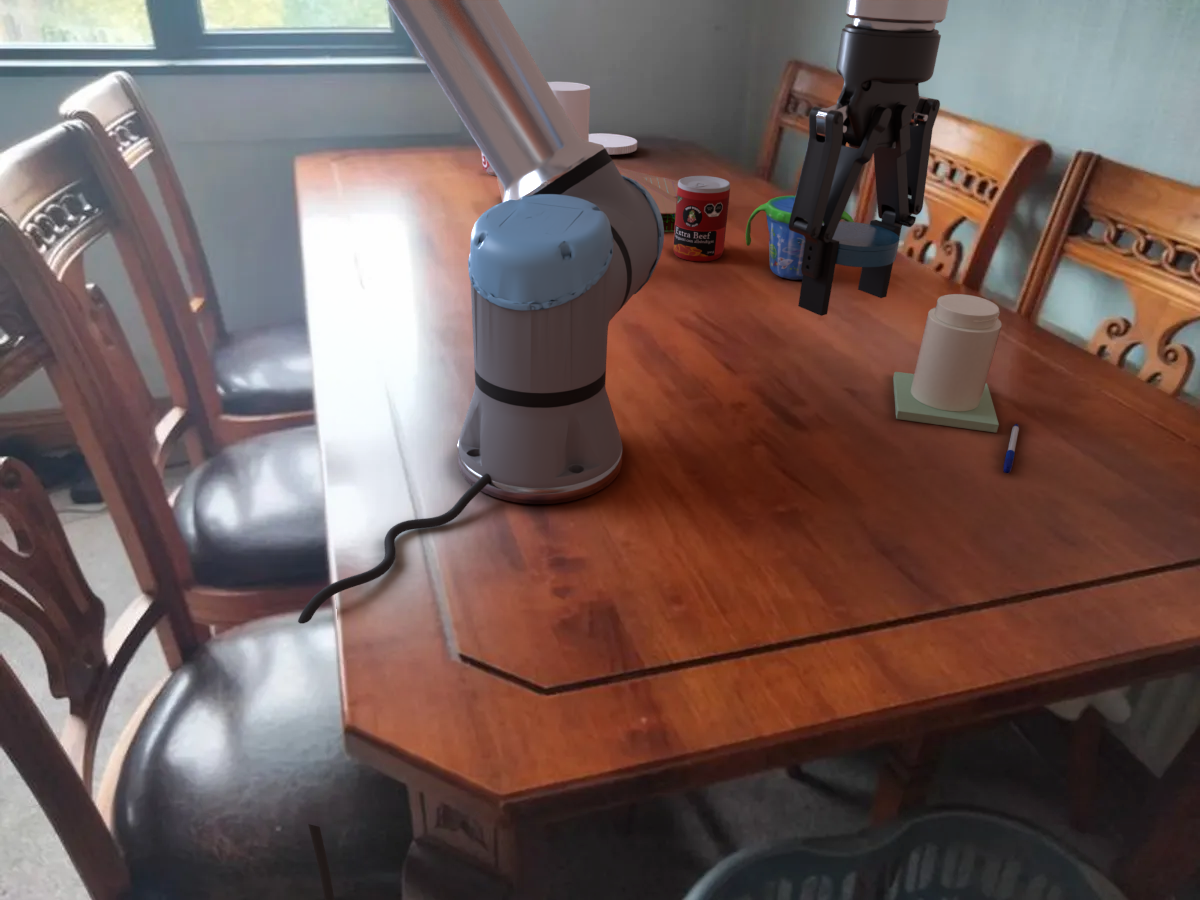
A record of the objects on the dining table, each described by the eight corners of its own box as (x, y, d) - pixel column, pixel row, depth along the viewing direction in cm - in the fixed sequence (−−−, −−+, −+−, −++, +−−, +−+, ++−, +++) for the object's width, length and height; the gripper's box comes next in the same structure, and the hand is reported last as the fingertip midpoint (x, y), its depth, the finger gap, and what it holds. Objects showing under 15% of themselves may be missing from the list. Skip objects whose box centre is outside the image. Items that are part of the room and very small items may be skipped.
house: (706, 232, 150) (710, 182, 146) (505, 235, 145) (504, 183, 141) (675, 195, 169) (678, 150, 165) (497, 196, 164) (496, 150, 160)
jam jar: (983, 416, 94) (1010, 321, 89) (911, 406, 95) (933, 312, 90) (976, 386, 100) (1000, 296, 95) (908, 377, 101) (929, 288, 96)
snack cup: (733, 275, 132) (741, 205, 127) (752, 254, 140) (760, 188, 135) (840, 294, 127) (853, 221, 122) (854, 271, 135) (867, 203, 130)
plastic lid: (608, 142, 207) (609, 131, 206) (649, 154, 198) (650, 142, 197) (559, 149, 199) (560, 137, 198) (600, 162, 190) (600, 150, 189)
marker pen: (1011, 476, 86) (1014, 467, 86) (1002, 474, 86) (1004, 465, 86) (1018, 429, 94) (1020, 420, 94) (1009, 427, 95) (1011, 418, 94)
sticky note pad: (996, 433, 93) (999, 424, 93) (896, 419, 95) (897, 410, 94) (985, 391, 101) (987, 383, 101) (892, 379, 103) (894, 371, 103)
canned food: (664, 256, 138) (669, 183, 133) (685, 243, 144) (690, 172, 139) (711, 265, 135) (718, 191, 130) (730, 251, 141) (738, 180, 136)
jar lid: (848, 236, 85) (851, 217, 84) (913, 258, 79) (918, 238, 79) (791, 248, 81) (794, 228, 80) (856, 273, 76) (860, 252, 75)
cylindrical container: (578, 280, 128) (583, 92, 115) (529, 275, 129) (529, 88, 116) (589, 264, 134) (595, 83, 121) (542, 259, 135) (543, 80, 122)
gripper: (931, 16, 79) (881, 270, 90) (765, 23, 68) (732, 310, 80) (1009, 25, 74) (946, 293, 85) (843, 34, 63) (796, 339, 74)
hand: (843, 301), depth 82 cm, fingers closed on jar lid, 7 cm apart
